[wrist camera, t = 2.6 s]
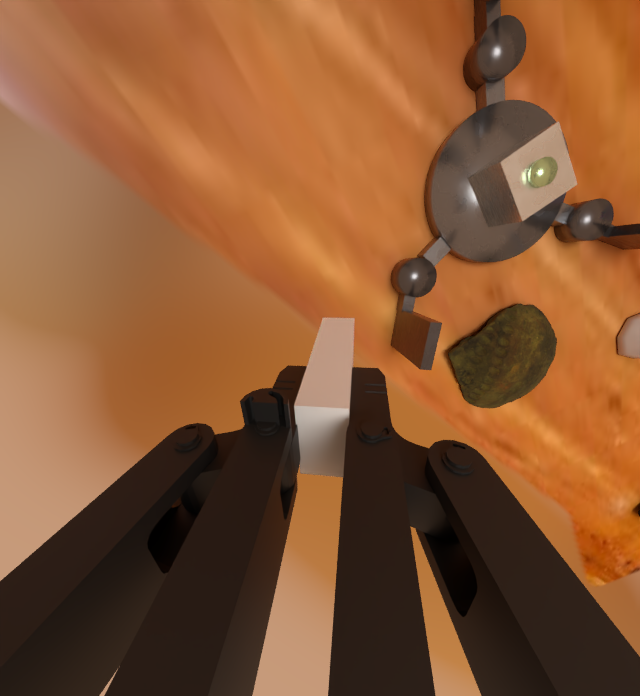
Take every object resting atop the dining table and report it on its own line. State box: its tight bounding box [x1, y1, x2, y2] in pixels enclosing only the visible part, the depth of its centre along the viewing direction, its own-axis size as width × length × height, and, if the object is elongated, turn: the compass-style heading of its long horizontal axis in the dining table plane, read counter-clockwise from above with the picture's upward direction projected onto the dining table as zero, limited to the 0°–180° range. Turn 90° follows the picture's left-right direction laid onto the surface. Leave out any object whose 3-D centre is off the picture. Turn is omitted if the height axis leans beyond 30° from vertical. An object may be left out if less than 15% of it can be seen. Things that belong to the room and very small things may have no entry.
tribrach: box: [417, 0, 640, 266], centre depth 28 cm, size 36×25×9 cm
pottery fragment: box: [448, 304, 557, 408], centre depth 38 cm, size 14×14×4 cm
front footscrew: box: [391, 258, 442, 370], centre depth 32 cm, size 11×4×9 cm, turn 174°
